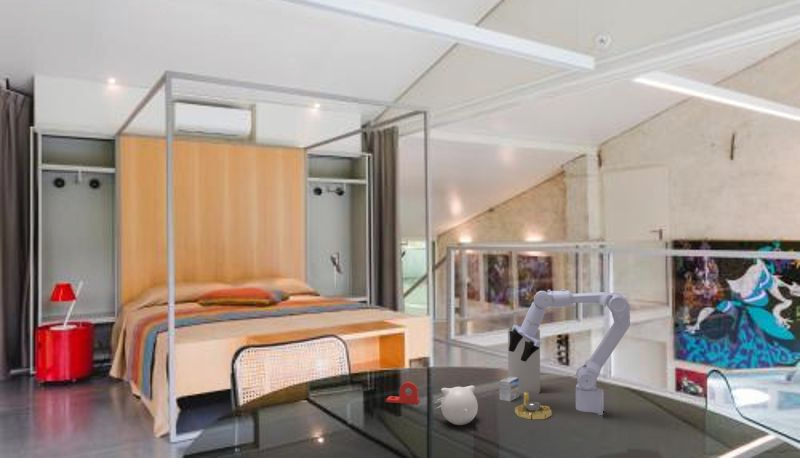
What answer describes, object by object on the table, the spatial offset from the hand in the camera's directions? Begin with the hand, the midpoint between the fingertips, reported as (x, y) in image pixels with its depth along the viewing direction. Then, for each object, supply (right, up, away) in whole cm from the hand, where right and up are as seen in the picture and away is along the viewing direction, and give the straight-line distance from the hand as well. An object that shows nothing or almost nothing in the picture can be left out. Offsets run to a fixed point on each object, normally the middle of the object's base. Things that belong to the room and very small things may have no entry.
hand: (516, 355), depth 204 cm
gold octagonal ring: (+3, -17, -10) cm, 20 cm away
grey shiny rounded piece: (+3, -19, -11) cm, 22 cm away
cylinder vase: (+7, -19, +21) cm, 29 cm away
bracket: (-41, -20, +9) cm, 47 cm away
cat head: (-23, -19, -17) cm, 34 cm away
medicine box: (-1, -19, +7) cm, 21 cm away
